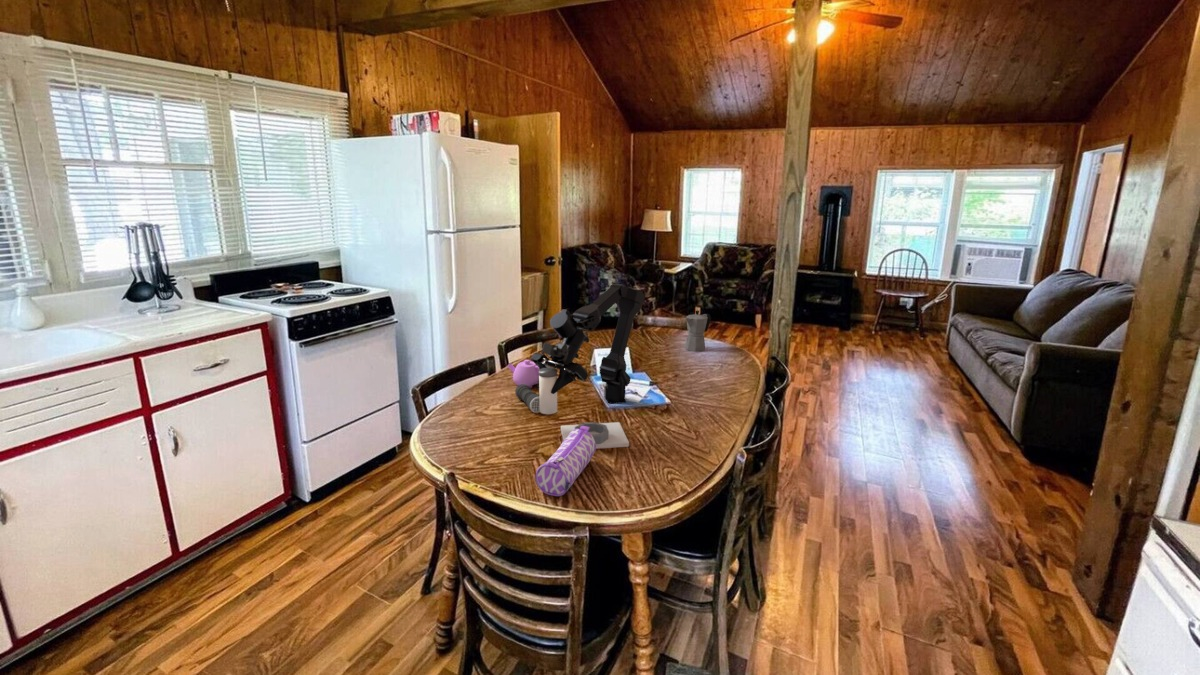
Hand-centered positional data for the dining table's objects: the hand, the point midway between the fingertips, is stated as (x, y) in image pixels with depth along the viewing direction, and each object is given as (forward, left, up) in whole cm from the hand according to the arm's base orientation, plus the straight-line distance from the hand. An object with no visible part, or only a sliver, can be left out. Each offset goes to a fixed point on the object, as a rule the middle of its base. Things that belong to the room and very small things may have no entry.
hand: (544, 391), depth 159 cm
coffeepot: (-75, -79, -14) cm, 110 cm away
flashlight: (+4, -23, -14) cm, 27 cm away
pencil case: (-4, +26, -14) cm, 29 cm away
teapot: (+4, -43, -14) cm, 46 cm away
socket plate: (-14, +5, -13) cm, 20 cm away
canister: (-1, -1, -7) cm, 7 cm away
